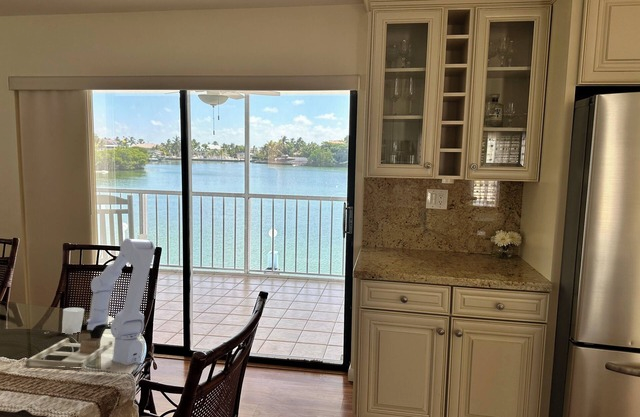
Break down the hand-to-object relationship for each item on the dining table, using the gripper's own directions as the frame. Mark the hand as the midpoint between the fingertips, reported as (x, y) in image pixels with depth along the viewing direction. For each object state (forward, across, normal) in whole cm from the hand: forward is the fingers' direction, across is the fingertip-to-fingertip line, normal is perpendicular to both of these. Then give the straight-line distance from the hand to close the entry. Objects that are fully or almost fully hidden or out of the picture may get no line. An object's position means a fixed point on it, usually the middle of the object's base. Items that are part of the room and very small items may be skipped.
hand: (95, 344), depth 164 cm
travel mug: (+2, -38, -14) cm, 41 cm away
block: (+1, +5, 0) cm, 5 cm away
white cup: (+2, -20, -18) cm, 27 cm away
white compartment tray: (+2, +10, -4) cm, 11 cm away
